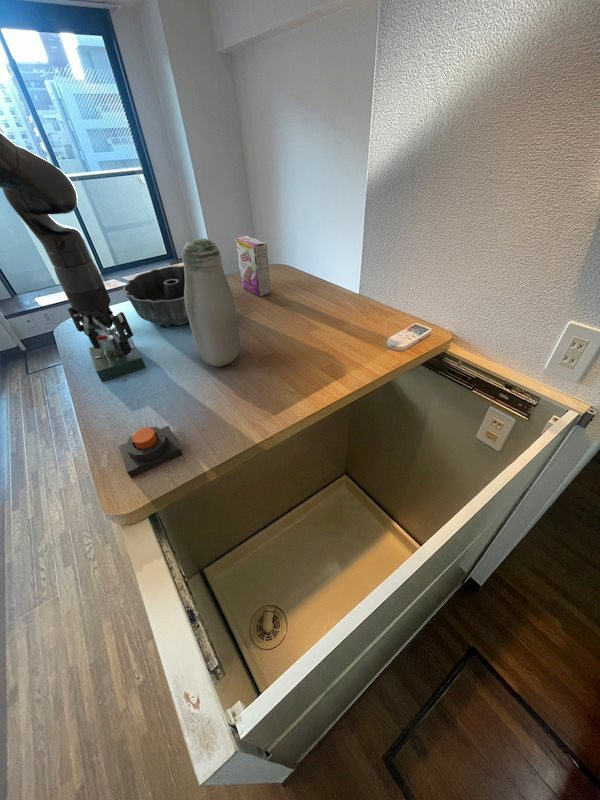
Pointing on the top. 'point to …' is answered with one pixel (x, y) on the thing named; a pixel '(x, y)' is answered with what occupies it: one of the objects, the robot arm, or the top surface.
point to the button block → (150, 452)
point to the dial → (108, 345)
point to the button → (144, 438)
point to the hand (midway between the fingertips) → (113, 350)
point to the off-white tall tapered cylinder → (210, 303)
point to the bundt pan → (159, 295)
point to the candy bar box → (253, 265)
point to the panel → (116, 362)
